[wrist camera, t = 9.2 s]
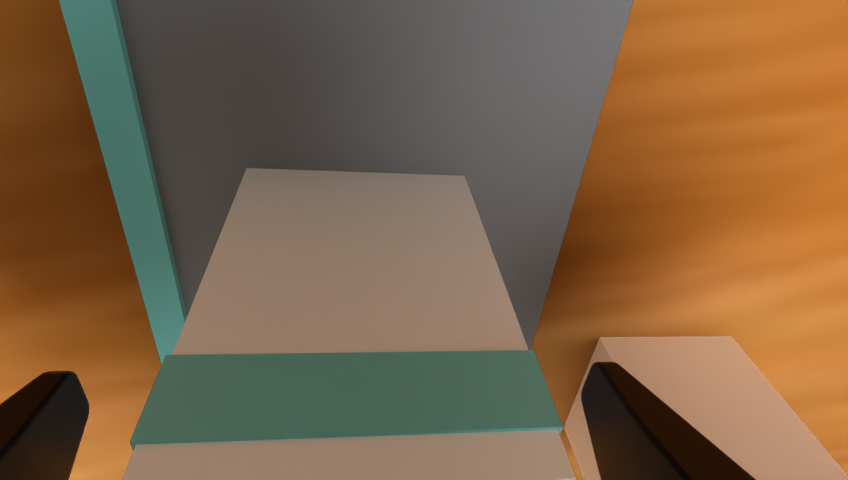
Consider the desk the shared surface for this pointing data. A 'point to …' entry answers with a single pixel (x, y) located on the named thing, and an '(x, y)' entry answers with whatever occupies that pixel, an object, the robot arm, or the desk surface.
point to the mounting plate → (342, 115)
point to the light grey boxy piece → (712, 405)
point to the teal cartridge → (350, 344)
